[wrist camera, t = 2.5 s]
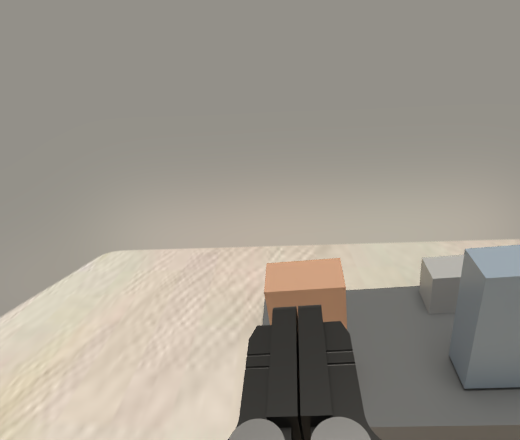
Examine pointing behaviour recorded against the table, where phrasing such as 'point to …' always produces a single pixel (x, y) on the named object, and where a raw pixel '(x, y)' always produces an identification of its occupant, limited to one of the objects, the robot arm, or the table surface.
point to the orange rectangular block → (307, 287)
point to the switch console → (421, 363)
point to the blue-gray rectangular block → (488, 319)
